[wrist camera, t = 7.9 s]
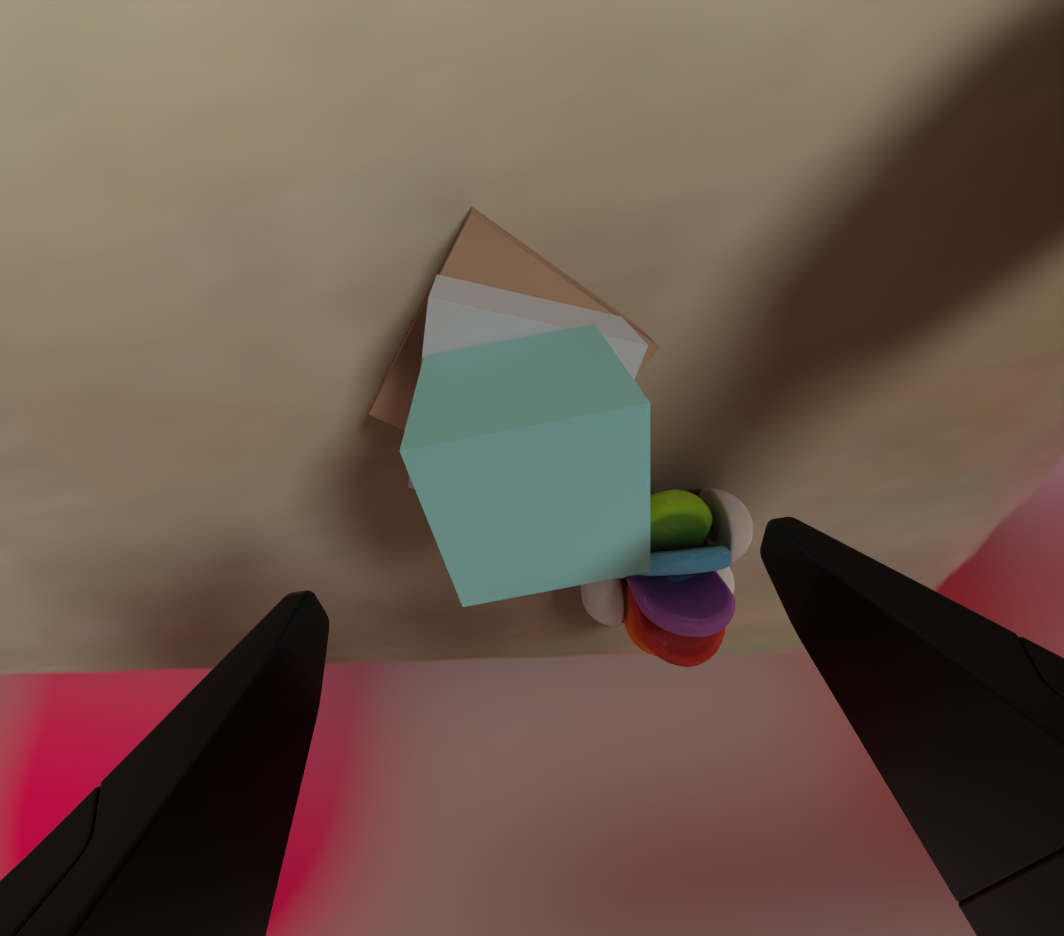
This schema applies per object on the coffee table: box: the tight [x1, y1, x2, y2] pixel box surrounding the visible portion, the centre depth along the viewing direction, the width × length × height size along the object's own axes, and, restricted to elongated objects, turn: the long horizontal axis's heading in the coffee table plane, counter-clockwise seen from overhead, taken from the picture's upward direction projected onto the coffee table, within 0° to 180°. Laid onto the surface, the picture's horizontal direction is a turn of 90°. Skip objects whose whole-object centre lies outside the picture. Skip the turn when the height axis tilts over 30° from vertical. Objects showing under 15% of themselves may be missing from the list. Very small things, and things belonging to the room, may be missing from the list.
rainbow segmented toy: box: [580, 488, 753, 667], centre depth 23 cm, size 8×10×7 cm
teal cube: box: [400, 324, 650, 607], centre depth 12 cm, size 5×5×5 cm
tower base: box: [369, 207, 659, 431], centre depth 18 cm, size 8×8×3 cm
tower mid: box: [408, 274, 648, 489], centre depth 16 cm, size 6×6×3 cm
